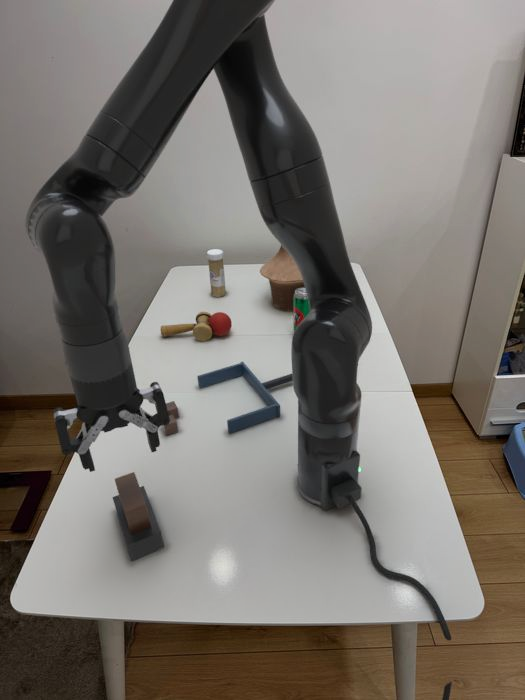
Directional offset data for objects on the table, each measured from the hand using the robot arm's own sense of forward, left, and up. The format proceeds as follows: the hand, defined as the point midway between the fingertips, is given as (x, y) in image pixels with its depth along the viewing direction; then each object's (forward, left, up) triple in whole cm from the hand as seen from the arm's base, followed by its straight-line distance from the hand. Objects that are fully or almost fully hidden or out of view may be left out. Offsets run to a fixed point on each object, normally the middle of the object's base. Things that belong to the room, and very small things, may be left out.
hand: (123, 457), depth 69 cm
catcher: (+21, -30, -14) cm, 39 cm away
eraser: (-1, 0, -14) cm, 14 cm away
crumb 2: (+19, -11, -14) cm, 26 cm away
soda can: (+38, -52, -14) cm, 66 cm away
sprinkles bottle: (+71, -42, -14) cm, 84 cm away
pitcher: (+55, -58, -14) cm, 81 cm away
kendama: (+51, -28, -14) cm, 60 cm away
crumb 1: (+23, -12, -14) cm, 30 cm away
